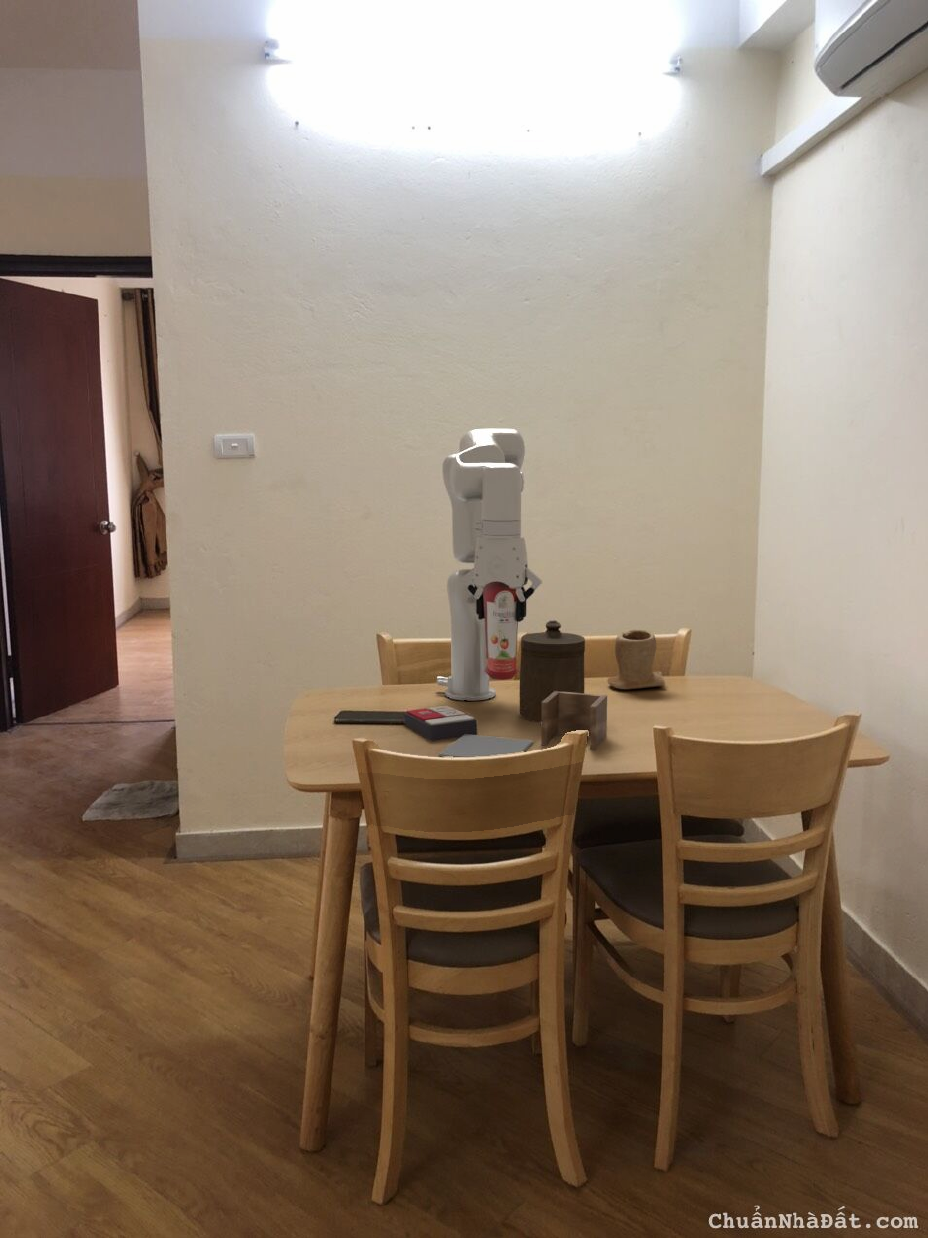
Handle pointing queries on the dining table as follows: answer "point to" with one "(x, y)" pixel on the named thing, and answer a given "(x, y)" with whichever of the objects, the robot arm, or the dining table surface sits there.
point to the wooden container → (549, 667)
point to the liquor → (500, 630)
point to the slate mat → (484, 746)
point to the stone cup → (636, 661)
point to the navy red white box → (440, 723)
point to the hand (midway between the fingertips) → (501, 618)
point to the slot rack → (574, 716)
